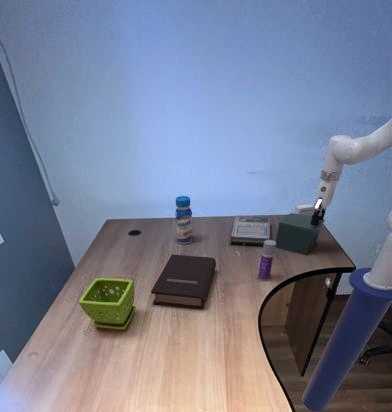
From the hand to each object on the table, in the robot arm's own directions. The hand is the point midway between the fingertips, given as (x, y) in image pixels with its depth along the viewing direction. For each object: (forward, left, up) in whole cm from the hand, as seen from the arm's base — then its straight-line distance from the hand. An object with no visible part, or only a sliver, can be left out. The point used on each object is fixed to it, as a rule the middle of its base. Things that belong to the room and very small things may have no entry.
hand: (316, 221), depth 118 cm
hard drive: (+31, +1, -13) cm, 33 cm away
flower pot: (+38, +89, -13) cm, 97 cm away
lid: (+6, 0, -2) cm, 7 cm away
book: (+30, +58, -13) cm, 66 cm away
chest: (+7, 0, -12) cm, 14 cm away
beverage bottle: (+56, +25, -13) cm, 62 cm away
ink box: (+12, -19, -13) cm, 26 cm away
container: (+7, +35, -13) cm, 38 cm away
